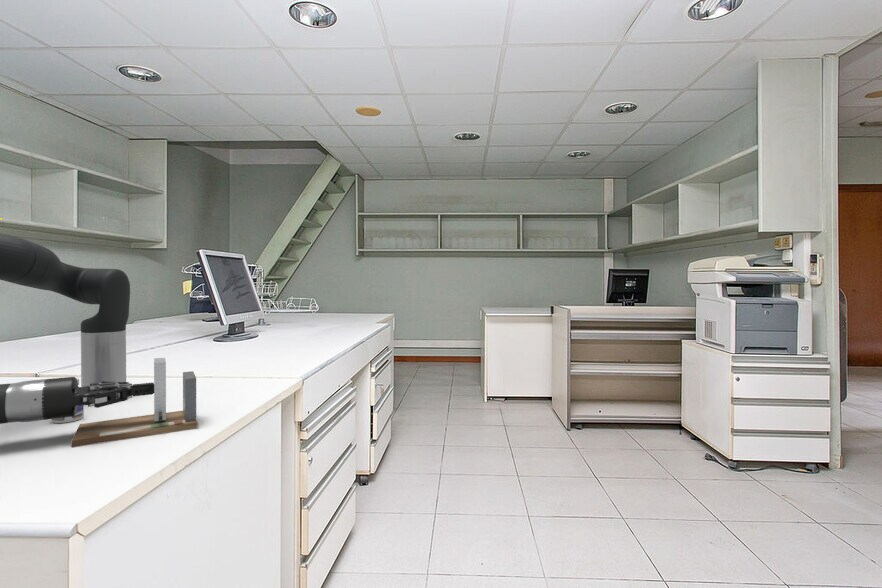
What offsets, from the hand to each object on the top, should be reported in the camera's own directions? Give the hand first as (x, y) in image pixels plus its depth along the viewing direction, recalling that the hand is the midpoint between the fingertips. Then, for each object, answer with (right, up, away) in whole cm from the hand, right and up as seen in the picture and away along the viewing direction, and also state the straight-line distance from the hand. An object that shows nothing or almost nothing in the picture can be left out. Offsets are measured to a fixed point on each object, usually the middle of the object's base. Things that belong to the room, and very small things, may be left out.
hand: (154, 388), depth 91 cm
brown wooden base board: (-2, -8, -2) cm, 8 cm away
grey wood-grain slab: (+6, -7, +3) cm, 9 cm away
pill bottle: (-21, -8, +4) cm, 23 cm away
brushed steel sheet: (+2, -6, -1) cm, 7 cm away
